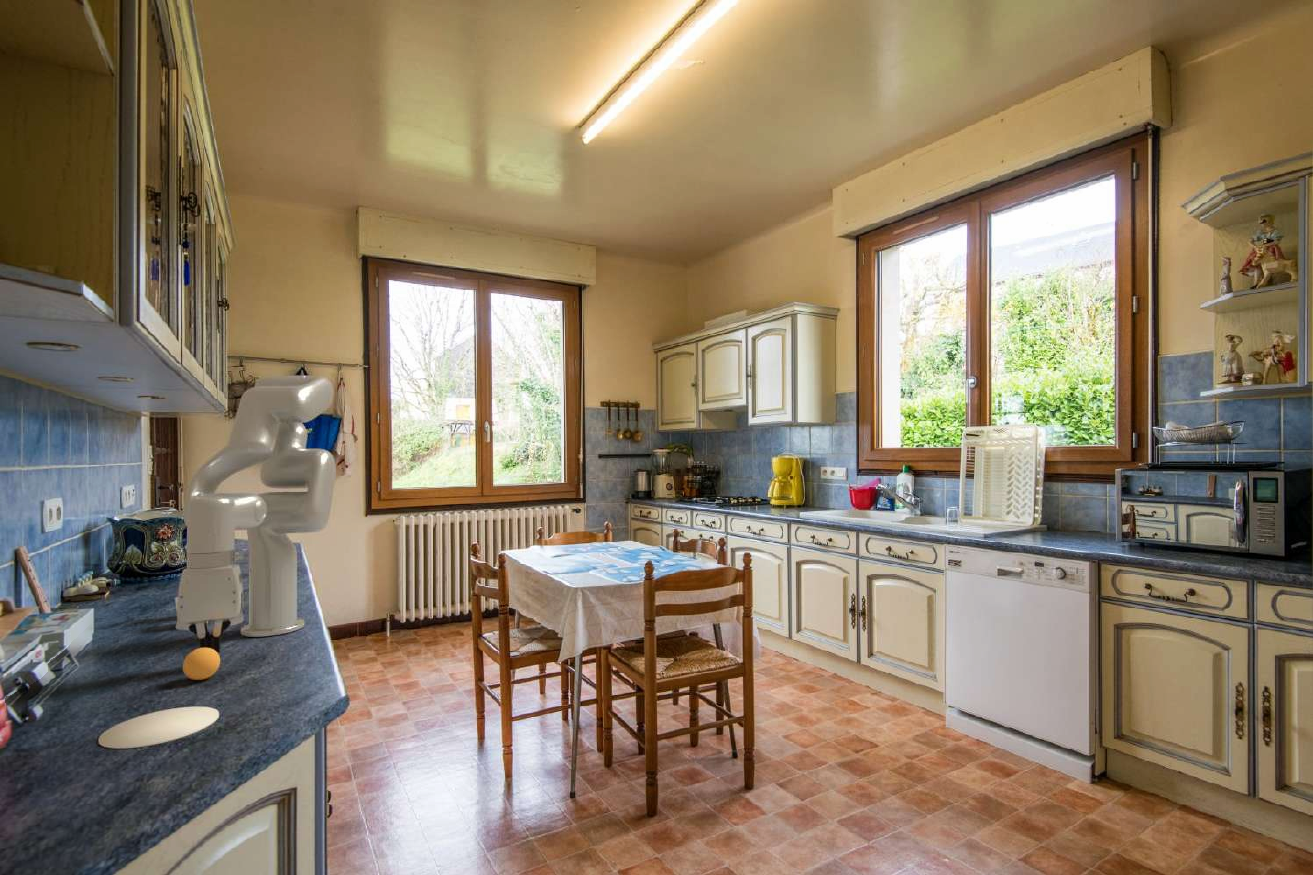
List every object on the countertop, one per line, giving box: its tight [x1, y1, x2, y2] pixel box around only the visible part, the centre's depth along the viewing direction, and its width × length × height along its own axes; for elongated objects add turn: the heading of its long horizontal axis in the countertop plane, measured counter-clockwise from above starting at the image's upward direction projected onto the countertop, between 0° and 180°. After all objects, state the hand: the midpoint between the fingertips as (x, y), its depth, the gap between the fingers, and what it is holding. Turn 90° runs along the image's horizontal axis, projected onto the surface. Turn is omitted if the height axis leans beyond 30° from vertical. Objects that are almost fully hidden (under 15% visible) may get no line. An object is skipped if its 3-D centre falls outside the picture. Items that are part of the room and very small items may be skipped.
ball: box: [182, 647, 221, 681], centre depth 114 cm, size 6×6×6 cm
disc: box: [98, 706, 220, 750], centre depth 94 cm, size 14×14×1 cm
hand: (210, 656), depth 121 cm, fingers closed
